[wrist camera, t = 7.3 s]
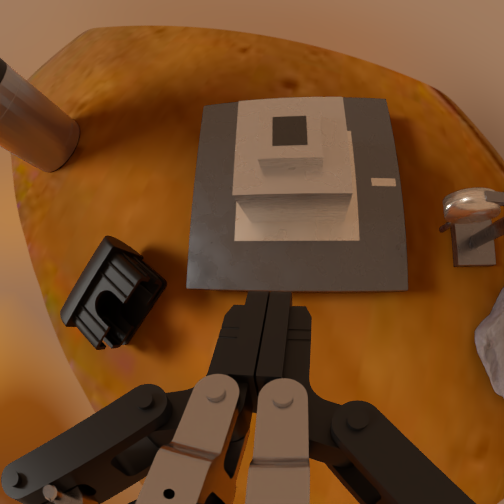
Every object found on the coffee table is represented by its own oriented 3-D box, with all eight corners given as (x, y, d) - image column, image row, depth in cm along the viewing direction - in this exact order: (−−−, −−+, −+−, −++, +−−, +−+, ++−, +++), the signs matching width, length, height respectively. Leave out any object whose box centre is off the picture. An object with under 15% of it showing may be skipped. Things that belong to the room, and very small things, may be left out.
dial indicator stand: (404, 267, 29) (466, 232, 16) (401, 218, 30) (453, 155, 16) (490, 266, 27) (573, 235, 14) (486, 221, 28) (560, 171, 14)
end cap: (129, 243, 35) (95, 228, 29) (171, 279, 34) (140, 271, 27) (87, 310, 35) (49, 307, 28) (124, 349, 33) (87, 354, 27)
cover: (250, 222, 29) (226, 186, 21) (254, 142, 31) (234, 89, 23) (343, 221, 28) (355, 184, 20) (338, 140, 29) (343, 84, 21)
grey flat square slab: (192, 289, 31) (186, 288, 29) (207, 113, 34) (203, 105, 33) (403, 291, 27) (408, 290, 26) (383, 106, 31) (385, 98, 29)
